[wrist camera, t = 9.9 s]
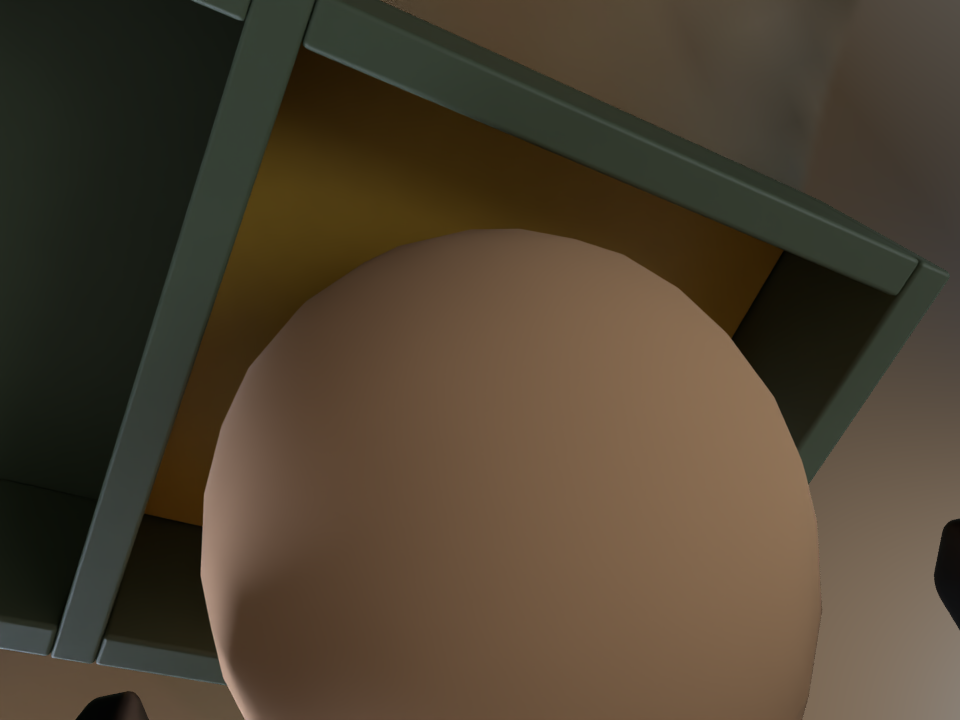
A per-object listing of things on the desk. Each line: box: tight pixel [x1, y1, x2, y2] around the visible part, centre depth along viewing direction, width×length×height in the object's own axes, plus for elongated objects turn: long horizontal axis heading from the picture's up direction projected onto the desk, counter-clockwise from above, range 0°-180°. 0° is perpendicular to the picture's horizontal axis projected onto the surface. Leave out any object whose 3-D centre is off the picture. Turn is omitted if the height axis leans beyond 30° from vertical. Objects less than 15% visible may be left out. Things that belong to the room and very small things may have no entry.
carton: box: [0, 0, 950, 685], centre depth 12 cm, size 19×10×4 cm, turn 65°
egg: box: [201, 229, 822, 720], centre depth 11 cm, size 7×7×8 cm
